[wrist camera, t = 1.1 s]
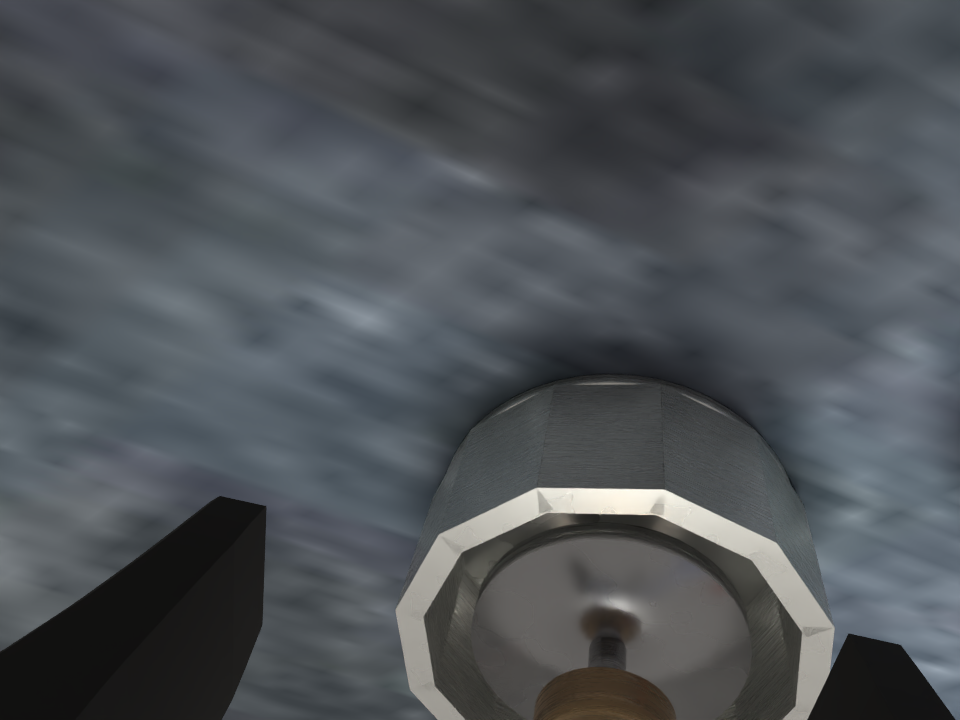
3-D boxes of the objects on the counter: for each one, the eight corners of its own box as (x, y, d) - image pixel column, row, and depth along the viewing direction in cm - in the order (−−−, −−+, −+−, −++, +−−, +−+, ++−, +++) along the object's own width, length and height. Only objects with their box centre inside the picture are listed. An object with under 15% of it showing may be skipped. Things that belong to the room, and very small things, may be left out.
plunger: (806, 599, 19) (849, 794, 15) (660, 759, 22) (663, 958, 18) (547, 477, 19) (521, 646, 15) (434, 657, 21) (386, 838, 17)
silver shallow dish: (875, 477, 21) (926, 614, 18) (639, 745, 27) (639, 894, 23) (533, 311, 21) (506, 415, 17) (363, 619, 26) (314, 751, 22)
